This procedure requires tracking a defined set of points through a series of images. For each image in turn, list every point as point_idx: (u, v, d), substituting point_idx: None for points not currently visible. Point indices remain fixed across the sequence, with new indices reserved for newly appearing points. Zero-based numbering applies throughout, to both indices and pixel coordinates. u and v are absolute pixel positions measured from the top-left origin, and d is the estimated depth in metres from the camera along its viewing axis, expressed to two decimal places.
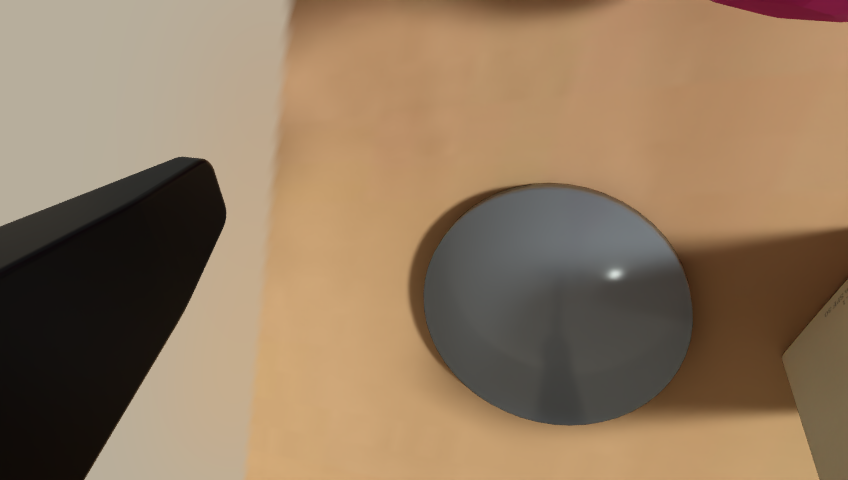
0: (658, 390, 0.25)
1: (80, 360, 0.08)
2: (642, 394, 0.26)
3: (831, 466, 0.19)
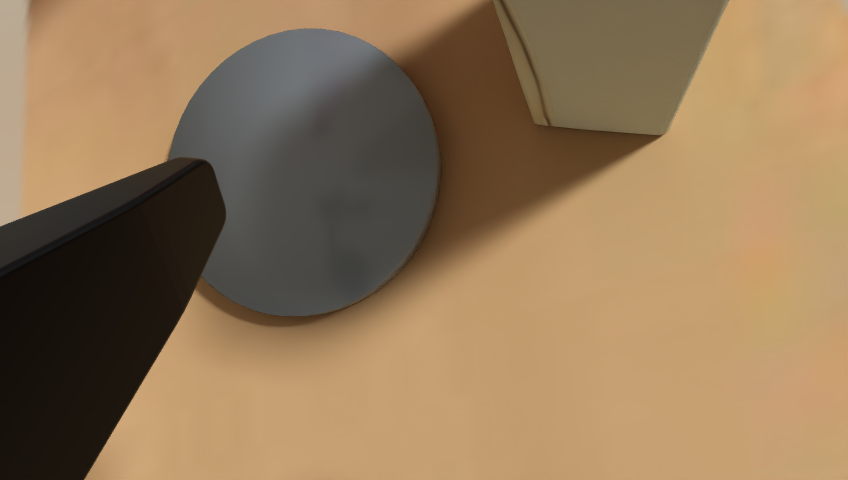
0: (426, 205, 0.22)
1: (80, 360, 0.08)
2: (412, 219, 0.22)
3: None
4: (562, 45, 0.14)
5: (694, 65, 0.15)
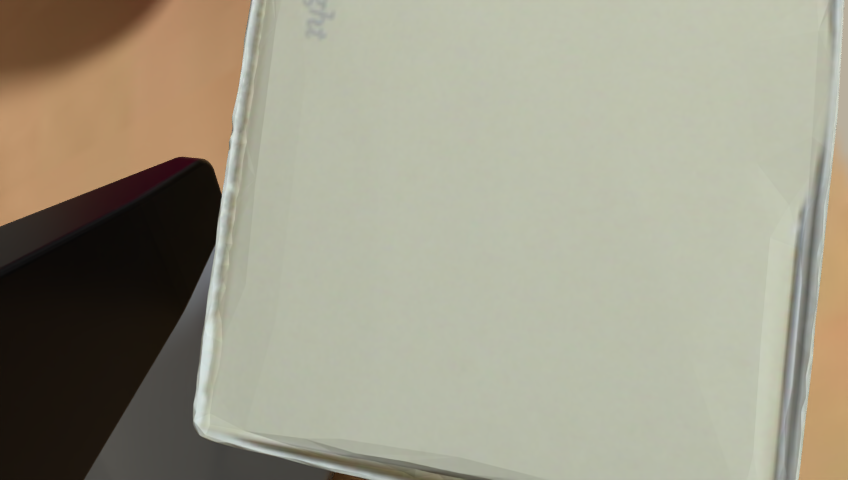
0: None
1: (80, 360, 0.08)
2: (306, 479, 0.17)
3: None
4: None
5: None
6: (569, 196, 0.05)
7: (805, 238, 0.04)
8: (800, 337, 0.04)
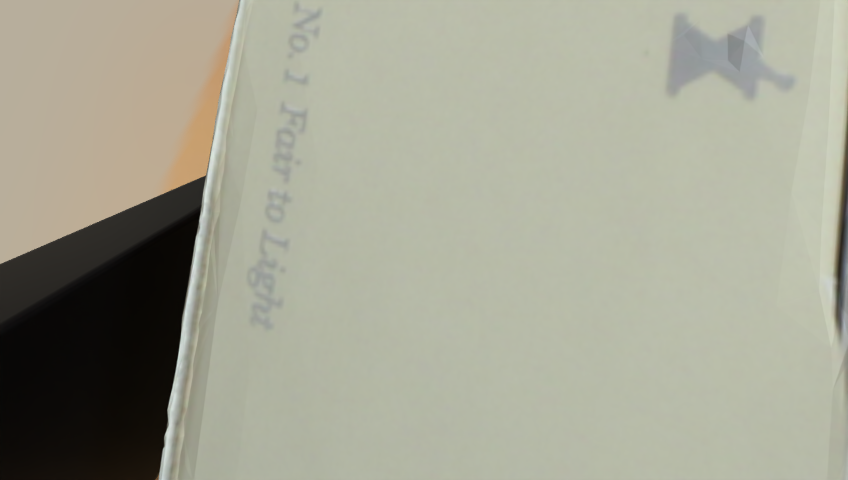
0: None
1: (146, 374, 0.07)
2: None
3: None
4: None
5: None
6: None
7: None
8: None
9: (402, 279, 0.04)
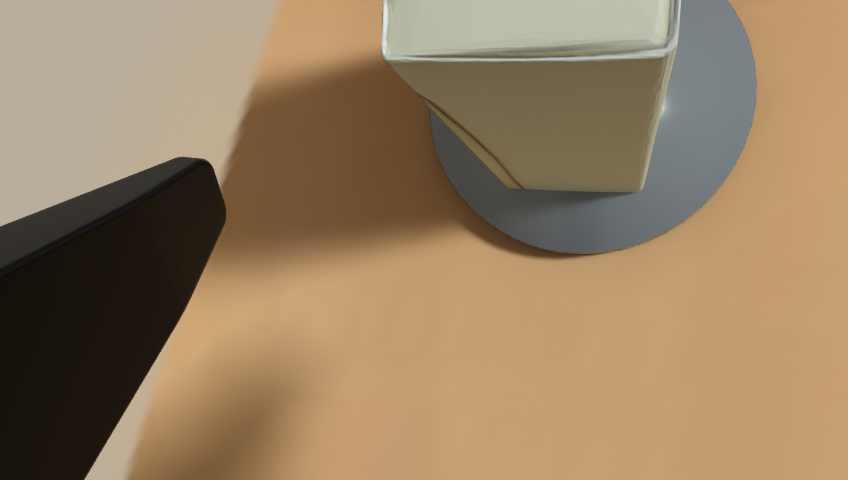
0: (720, 180, 0.20)
1: (80, 360, 0.08)
2: (699, 189, 0.20)
3: None
4: (510, 134, 0.14)
5: (648, 144, 0.14)
6: None
7: None
8: None
9: None
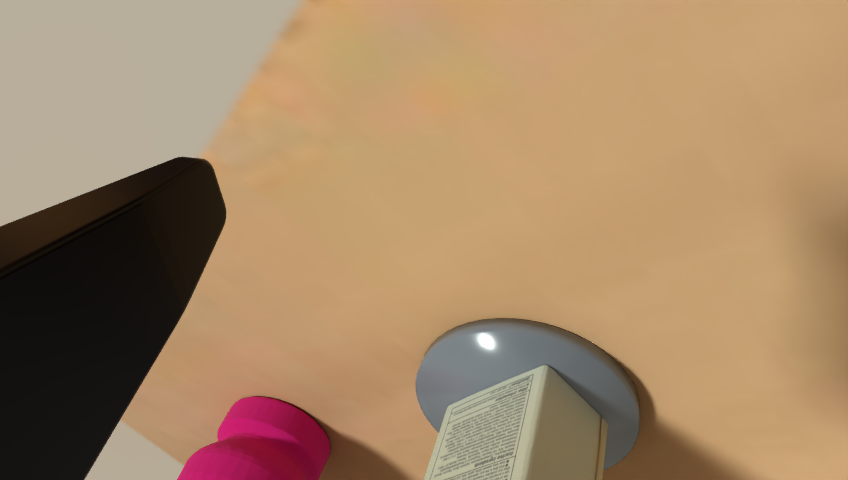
0: (505, 334, 0.27)
1: (80, 360, 0.08)
2: (519, 339, 0.27)
3: None
4: None
5: None
6: None
7: None
8: None
9: None
